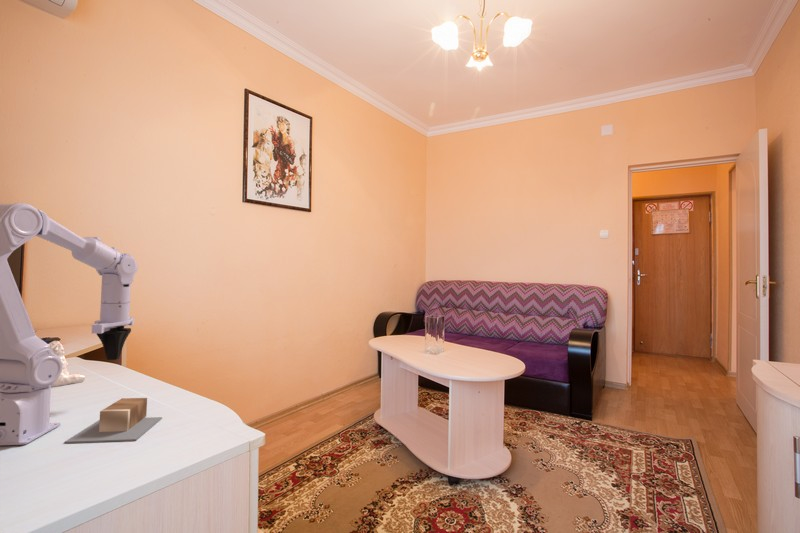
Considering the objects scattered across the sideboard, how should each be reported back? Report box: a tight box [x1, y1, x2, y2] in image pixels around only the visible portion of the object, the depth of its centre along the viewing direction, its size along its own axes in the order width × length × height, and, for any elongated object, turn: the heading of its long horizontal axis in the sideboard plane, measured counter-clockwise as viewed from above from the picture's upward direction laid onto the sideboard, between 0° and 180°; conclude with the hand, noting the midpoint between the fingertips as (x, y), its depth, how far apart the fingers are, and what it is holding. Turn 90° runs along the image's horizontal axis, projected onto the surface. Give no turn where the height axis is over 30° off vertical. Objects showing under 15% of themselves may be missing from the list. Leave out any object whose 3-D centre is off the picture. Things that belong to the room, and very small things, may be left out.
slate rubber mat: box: [64, 416, 163, 444], centre depth 79 cm, size 11×12×1 cm
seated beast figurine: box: [47, 340, 86, 388], centre depth 107 cm, size 10×9×12 cm
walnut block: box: [99, 397, 148, 432], centre depth 81 cm, size 4×5×8 cm
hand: (113, 359), depth 94 cm, fingers closed
